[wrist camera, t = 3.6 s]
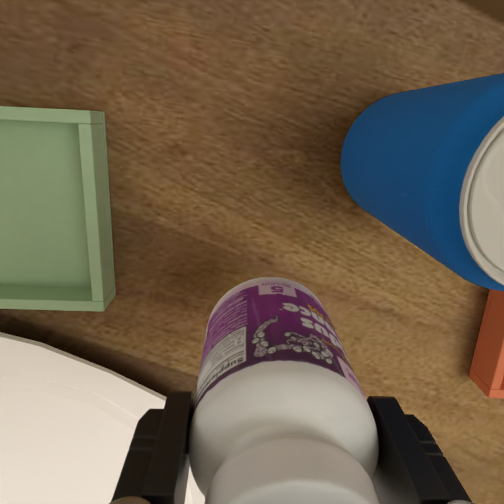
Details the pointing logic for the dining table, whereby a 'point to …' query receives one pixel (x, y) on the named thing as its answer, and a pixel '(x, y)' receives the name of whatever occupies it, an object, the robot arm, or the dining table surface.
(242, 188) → the dining table surface
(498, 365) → the terracotta tray
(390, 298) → the dining table surface
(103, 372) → the plate
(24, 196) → the green tray
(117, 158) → the dining table surface
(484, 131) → the beverage can
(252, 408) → the pill bottle
